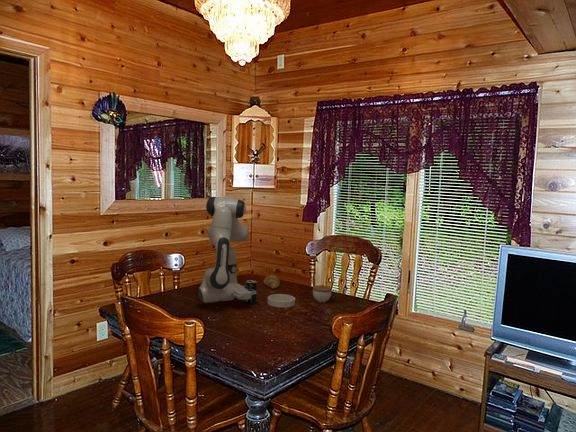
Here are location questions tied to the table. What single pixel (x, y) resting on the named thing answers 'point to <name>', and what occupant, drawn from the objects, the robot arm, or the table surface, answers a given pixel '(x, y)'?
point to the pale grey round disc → (281, 300)
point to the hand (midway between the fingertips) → (252, 290)
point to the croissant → (272, 281)
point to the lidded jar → (322, 293)
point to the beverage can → (251, 286)
